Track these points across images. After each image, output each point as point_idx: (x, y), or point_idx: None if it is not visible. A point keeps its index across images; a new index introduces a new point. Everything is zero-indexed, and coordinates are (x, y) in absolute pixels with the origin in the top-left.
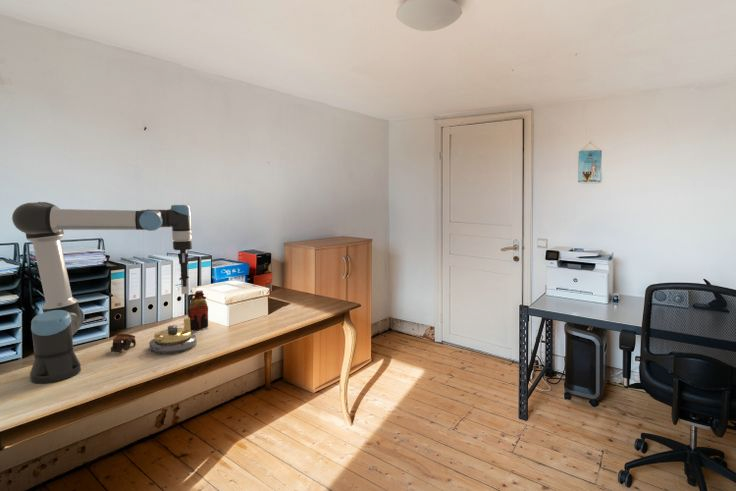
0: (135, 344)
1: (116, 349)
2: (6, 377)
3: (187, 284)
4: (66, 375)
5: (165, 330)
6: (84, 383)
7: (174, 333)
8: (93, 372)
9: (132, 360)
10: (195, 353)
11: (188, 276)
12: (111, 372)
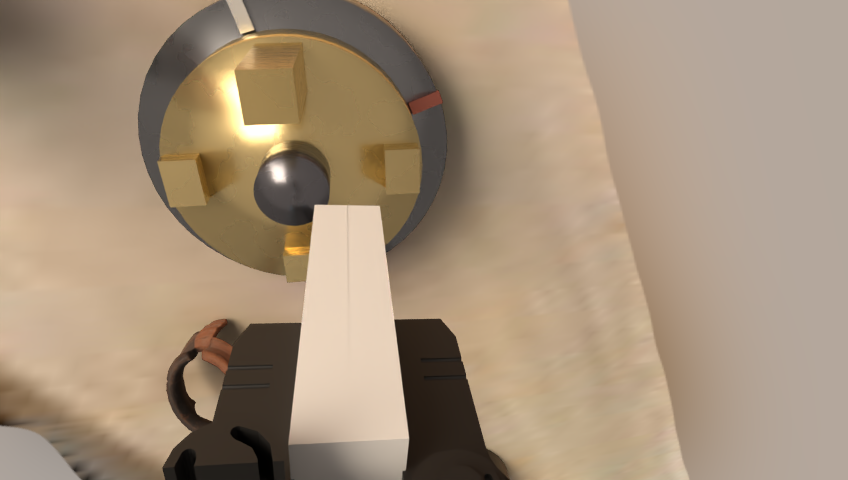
0: (225, 322)
1: None
2: None
3: (390, 325)
4: (503, 469)
5: (201, 216)
6: (572, 413)
7: (327, 164)
8: (486, 408)
9: (431, 310)
10: (506, 17)
11: (199, 476)
12: (525, 361)
